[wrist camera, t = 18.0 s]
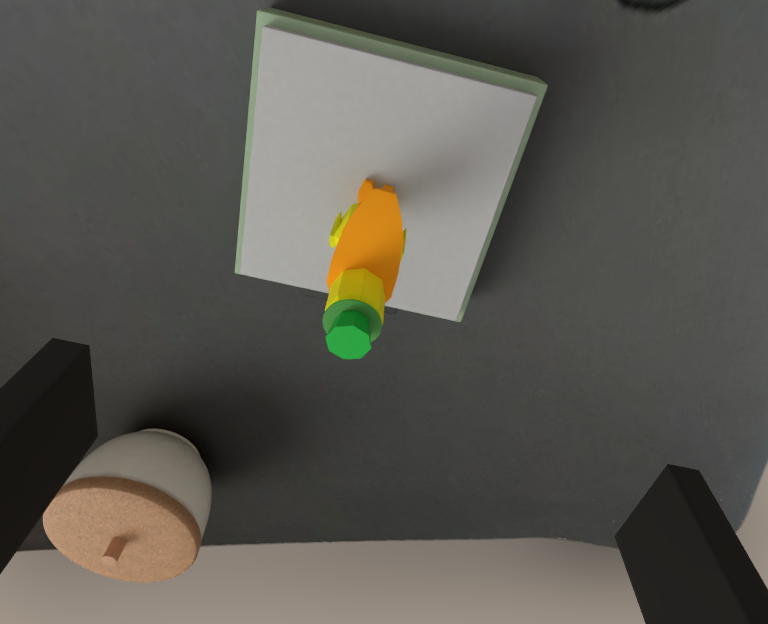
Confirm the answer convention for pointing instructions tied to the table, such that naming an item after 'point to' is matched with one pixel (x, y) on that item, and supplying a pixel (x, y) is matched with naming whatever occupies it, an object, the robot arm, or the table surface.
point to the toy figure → (362, 270)
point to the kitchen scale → (376, 155)
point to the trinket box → (134, 507)
